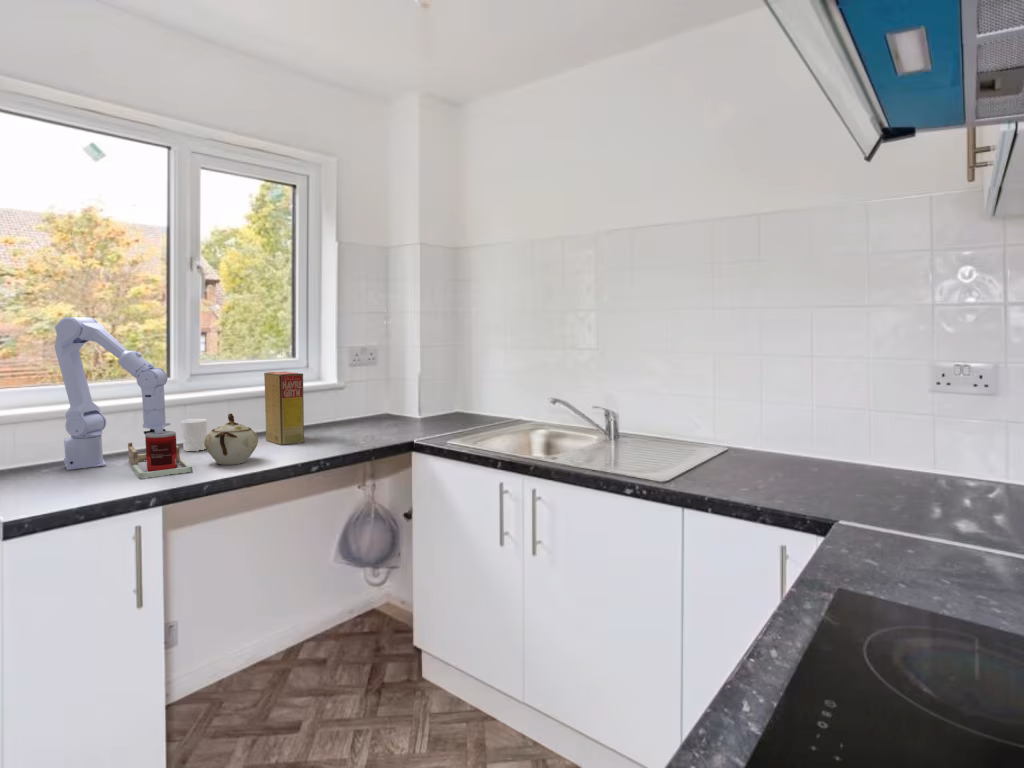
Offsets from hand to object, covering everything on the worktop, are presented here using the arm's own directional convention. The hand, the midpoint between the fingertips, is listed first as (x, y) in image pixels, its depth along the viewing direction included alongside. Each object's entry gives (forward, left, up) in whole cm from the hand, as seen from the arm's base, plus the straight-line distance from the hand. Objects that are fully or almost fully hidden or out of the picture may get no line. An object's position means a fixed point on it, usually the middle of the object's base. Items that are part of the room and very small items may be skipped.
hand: (156, 454), depth 183 cm
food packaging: (+43, +15, -4) cm, 46 cm away
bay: (0, -9, -3) cm, 10 cm away
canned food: (0, -8, -4) cm, 9 cm away
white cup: (+14, +18, -4) cm, 23 cm away
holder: (0, +4, -3) cm, 5 cm away
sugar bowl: (+19, -9, -4) cm, 21 cm away
